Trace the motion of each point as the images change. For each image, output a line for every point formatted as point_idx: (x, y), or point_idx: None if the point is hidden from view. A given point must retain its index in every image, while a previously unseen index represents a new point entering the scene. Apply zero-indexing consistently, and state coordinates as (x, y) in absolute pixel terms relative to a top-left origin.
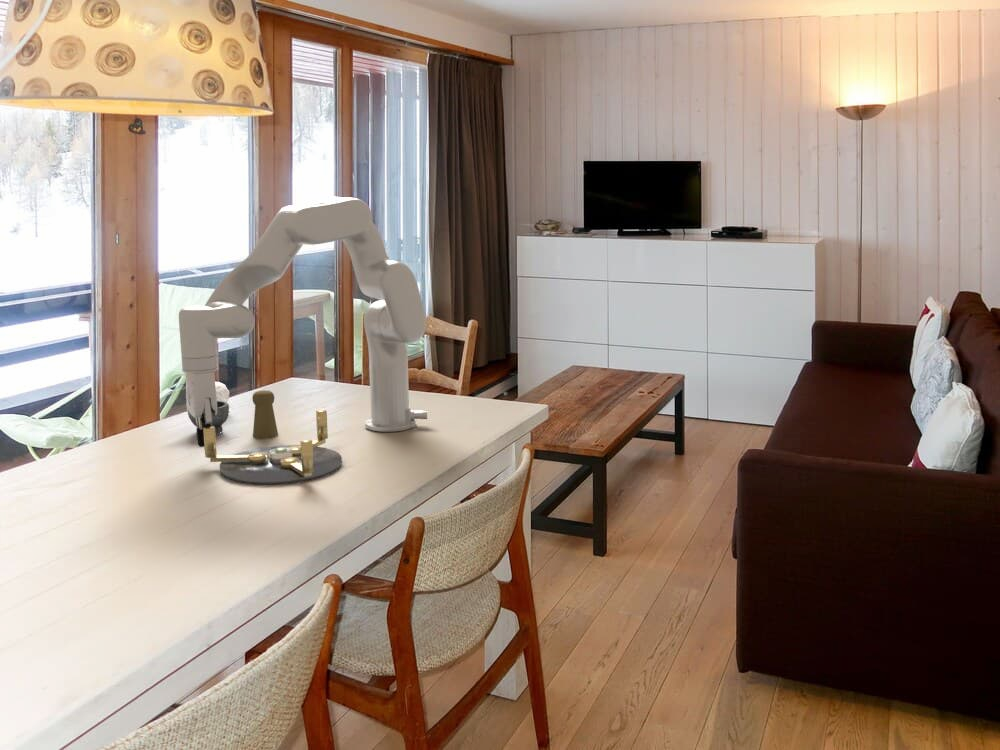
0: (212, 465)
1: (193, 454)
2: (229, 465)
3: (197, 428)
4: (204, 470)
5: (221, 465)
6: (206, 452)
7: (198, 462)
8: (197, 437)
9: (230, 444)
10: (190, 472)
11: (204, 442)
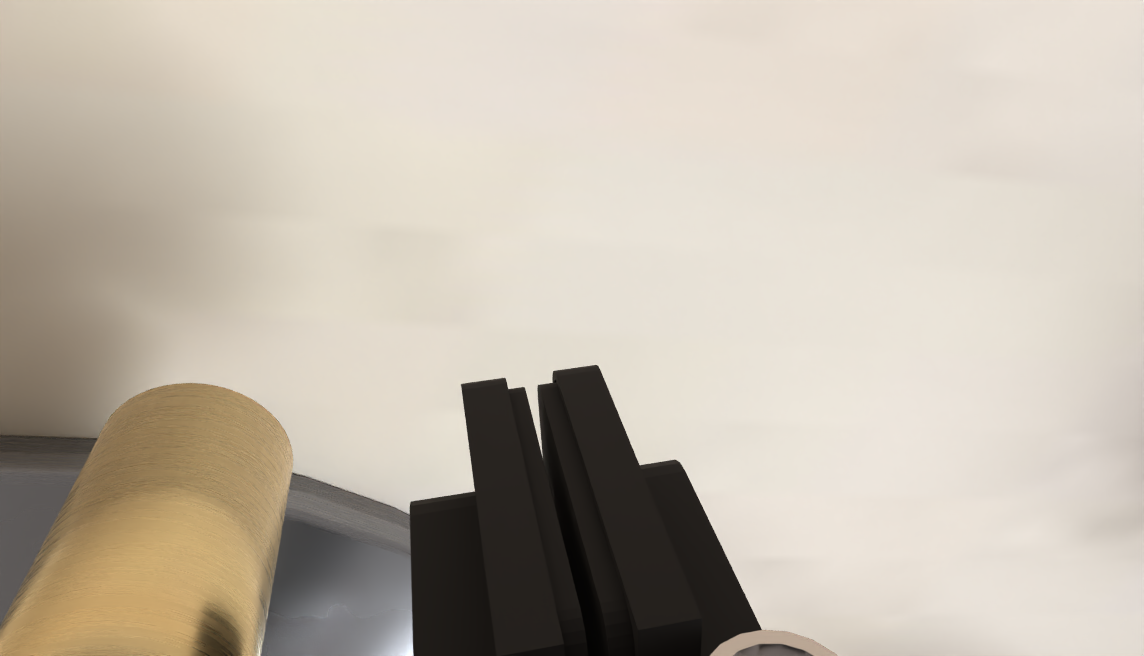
0: (376, 368)
1: (992, 193)
2: (14, 586)
3: (637, 638)
4: (152, 263)
5: (33, 505)
6: (90, 459)
7: (598, 220)
8: (598, 457)
9: (1077, 547)
10: (86, 60)
11: (79, 578)
